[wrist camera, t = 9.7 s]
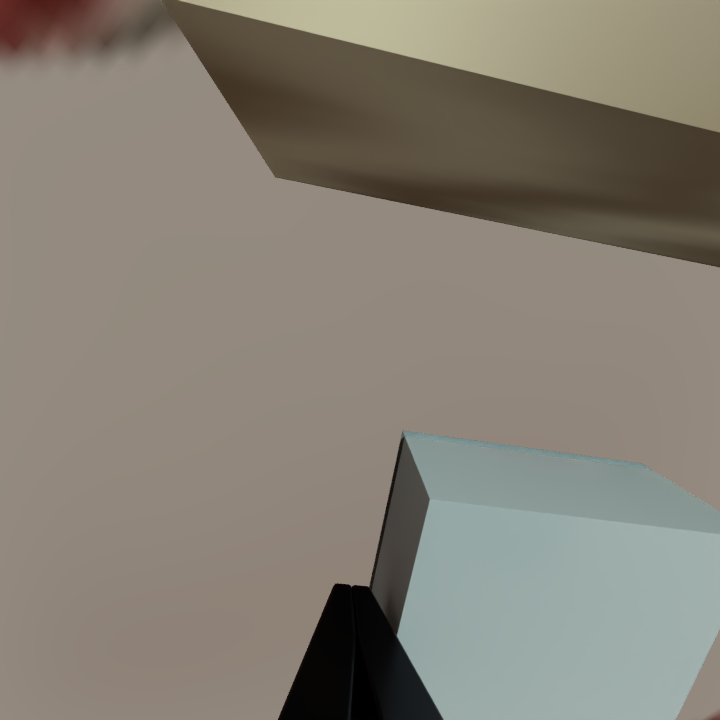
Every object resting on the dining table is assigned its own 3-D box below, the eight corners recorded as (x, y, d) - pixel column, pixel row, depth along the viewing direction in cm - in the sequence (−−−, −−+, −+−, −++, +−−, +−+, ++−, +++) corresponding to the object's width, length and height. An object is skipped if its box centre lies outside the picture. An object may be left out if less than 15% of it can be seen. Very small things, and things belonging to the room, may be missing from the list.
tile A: (358, 637, 11) (364, 768, 8) (402, 430, 9) (429, 499, 7) (568, 654, 12) (645, 781, 9) (641, 463, 10) (763, 539, 7)
